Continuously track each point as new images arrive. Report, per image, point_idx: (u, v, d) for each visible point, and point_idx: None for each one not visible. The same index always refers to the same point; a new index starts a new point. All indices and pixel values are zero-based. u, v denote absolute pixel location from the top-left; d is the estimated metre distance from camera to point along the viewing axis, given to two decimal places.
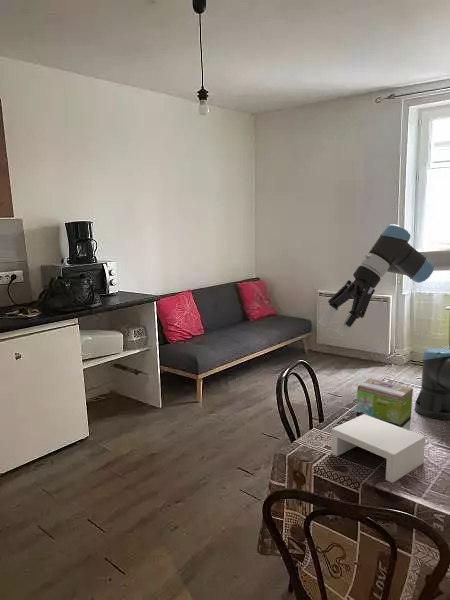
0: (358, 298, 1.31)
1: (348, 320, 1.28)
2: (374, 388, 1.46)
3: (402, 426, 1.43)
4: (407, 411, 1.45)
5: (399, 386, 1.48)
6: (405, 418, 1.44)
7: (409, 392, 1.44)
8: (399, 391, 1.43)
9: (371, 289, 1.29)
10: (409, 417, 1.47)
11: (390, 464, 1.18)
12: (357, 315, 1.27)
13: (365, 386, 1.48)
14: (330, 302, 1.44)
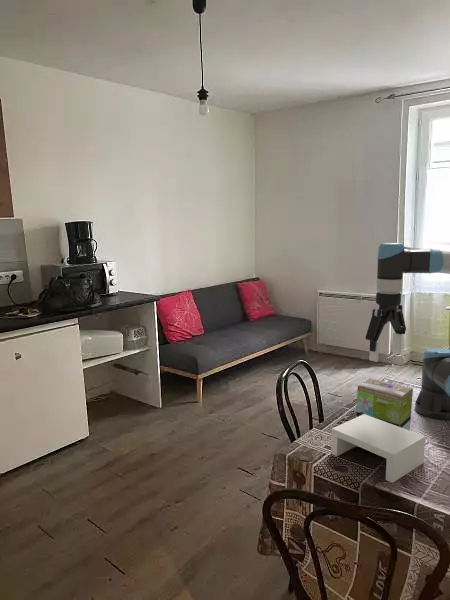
0: None
1: None
2: (374, 388, 1.46)
3: (402, 426, 1.43)
4: (407, 411, 1.45)
5: (399, 386, 1.48)
6: (405, 418, 1.44)
7: (409, 392, 1.44)
8: (399, 391, 1.43)
9: (376, 311, 1.39)
10: (409, 417, 1.47)
11: (390, 464, 1.18)
12: None
13: (365, 386, 1.48)
14: None
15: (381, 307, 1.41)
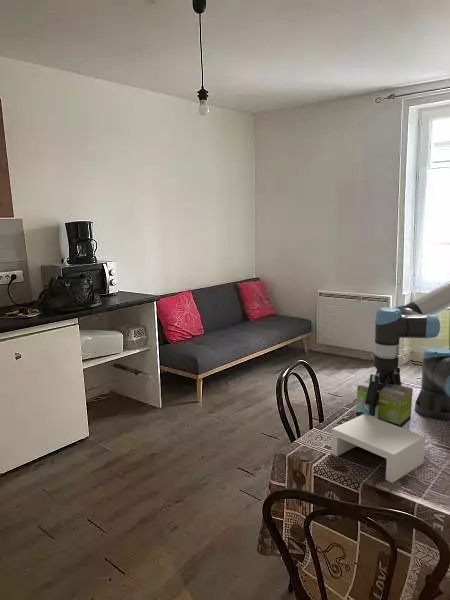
0: None
1: None
2: None
3: (402, 426, 1.43)
4: (407, 411, 1.45)
5: (399, 386, 1.48)
6: (404, 418, 1.44)
7: (409, 392, 1.44)
8: (399, 391, 1.43)
9: (373, 377, 1.43)
10: (408, 417, 1.47)
11: (390, 464, 1.18)
12: (369, 405, 1.44)
13: (365, 386, 1.48)
14: None
15: (378, 371, 1.45)
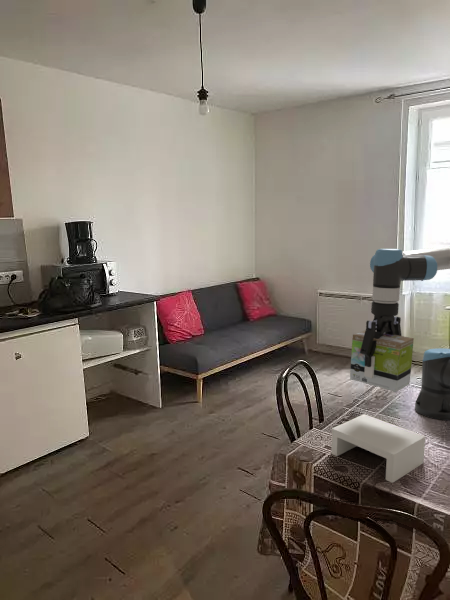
0: None
1: None
2: None
3: (400, 378, 1.29)
4: (407, 362, 1.31)
5: (399, 336, 1.34)
6: (404, 369, 1.30)
7: (409, 341, 1.31)
8: (398, 340, 1.29)
9: (370, 323, 1.30)
10: (408, 370, 1.33)
11: (390, 464, 1.18)
12: (364, 354, 1.30)
13: (361, 335, 1.35)
14: None
15: (376, 318, 1.31)
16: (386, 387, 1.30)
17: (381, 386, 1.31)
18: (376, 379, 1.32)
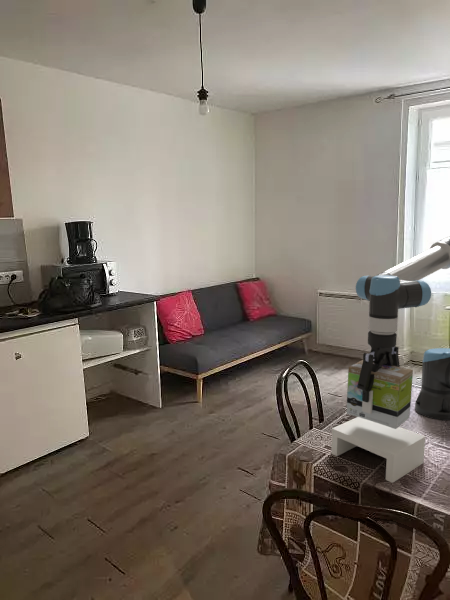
0: None
1: None
2: None
3: (400, 414, 1.21)
4: (407, 396, 1.24)
5: (397, 367, 1.27)
6: (403, 404, 1.22)
7: (409, 374, 1.23)
8: (397, 373, 1.22)
9: (367, 356, 1.22)
10: (408, 403, 1.25)
11: (390, 464, 1.18)
12: None
13: (357, 367, 1.27)
14: None
15: (373, 350, 1.23)
16: (385, 423, 1.22)
17: (380, 422, 1.23)
18: (375, 414, 1.24)
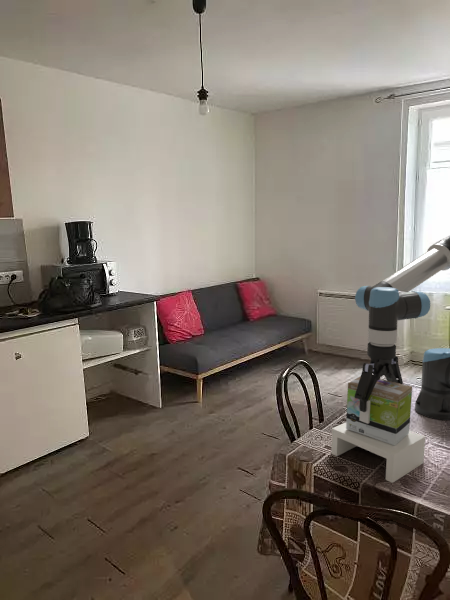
0: None
1: None
2: None
3: (399, 430, 1.22)
4: (406, 413, 1.24)
5: (397, 383, 1.27)
6: (402, 421, 1.23)
7: (408, 391, 1.23)
8: (395, 390, 1.22)
9: (366, 366, 1.22)
10: (407, 420, 1.26)
11: (390, 464, 1.18)
12: (359, 399, 1.22)
13: (356, 383, 1.27)
14: None
15: (373, 361, 1.24)
16: (384, 440, 1.23)
17: (379, 438, 1.24)
18: (374, 431, 1.25)
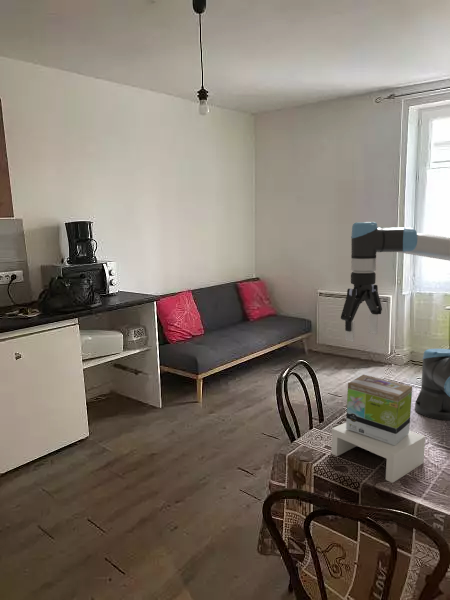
0: None
1: None
2: (367, 386, 1.25)
3: (399, 430, 1.22)
4: (406, 413, 1.24)
5: (397, 383, 1.27)
6: (402, 421, 1.23)
7: (408, 391, 1.23)
8: (395, 390, 1.22)
9: (350, 291, 1.38)
10: (407, 420, 1.26)
11: (390, 464, 1.18)
12: (344, 319, 1.38)
13: (356, 383, 1.27)
14: None
15: (356, 287, 1.40)
16: (384, 440, 1.23)
17: (379, 438, 1.24)
18: (374, 431, 1.25)
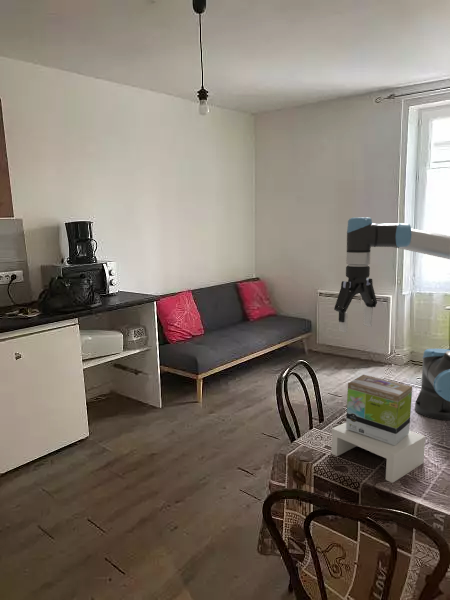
0: (347, 294, 1.47)
1: None
2: (367, 386, 1.25)
3: (399, 430, 1.22)
4: (406, 413, 1.24)
5: (397, 383, 1.27)
6: (402, 421, 1.23)
7: (408, 391, 1.23)
8: (395, 390, 1.22)
9: (344, 283, 1.44)
10: (407, 420, 1.26)
11: (390, 464, 1.18)
12: (338, 310, 1.44)
13: (356, 383, 1.27)
14: None
15: (350, 279, 1.46)
16: (384, 440, 1.23)
17: (379, 438, 1.24)
18: (374, 431, 1.25)
